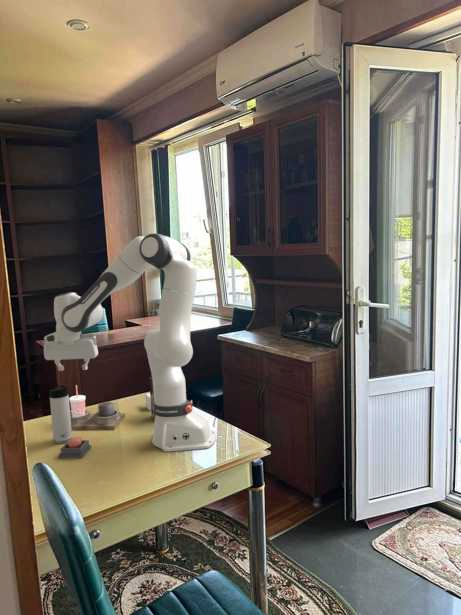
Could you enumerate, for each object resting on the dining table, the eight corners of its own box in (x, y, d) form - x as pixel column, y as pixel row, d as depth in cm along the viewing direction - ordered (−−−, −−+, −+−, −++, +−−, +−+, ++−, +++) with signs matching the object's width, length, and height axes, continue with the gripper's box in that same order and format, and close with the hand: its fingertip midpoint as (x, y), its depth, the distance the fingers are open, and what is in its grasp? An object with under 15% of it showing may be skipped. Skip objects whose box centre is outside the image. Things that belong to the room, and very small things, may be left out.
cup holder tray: (124, 416, 188) (123, 399, 187) (114, 429, 176) (113, 410, 175) (72, 417, 190) (70, 399, 189) (58, 429, 177) (56, 411, 176)
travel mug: (67, 444, 164) (62, 389, 161) (50, 443, 165) (45, 389, 162) (76, 437, 170) (71, 384, 167) (59, 436, 171) (55, 383, 168)
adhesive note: (159, 404, 202) (159, 391, 201) (164, 408, 197) (163, 395, 196) (146, 407, 199) (145, 393, 198) (150, 411, 194) (150, 397, 193)
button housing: (91, 447, 161) (90, 439, 160) (82, 458, 153) (81, 449, 152) (69, 447, 161) (68, 439, 161) (58, 458, 153) (58, 449, 153)
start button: (83, 443, 159) (83, 437, 158) (78, 448, 154) (78, 442, 154) (71, 443, 159) (70, 437, 159) (65, 448, 155) (65, 442, 154)
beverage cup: (89, 420, 182) (86, 385, 180) (73, 423, 179) (70, 388, 177) (84, 415, 187) (82, 381, 185) (69, 419, 184) (66, 384, 182)
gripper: (98, 332, 181) (102, 366, 183) (47, 334, 182) (51, 368, 184) (92, 335, 174) (96, 371, 176) (39, 337, 176) (44, 373, 178)
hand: (73, 369), depth 180 cm, fingers open, 8 cm apart
